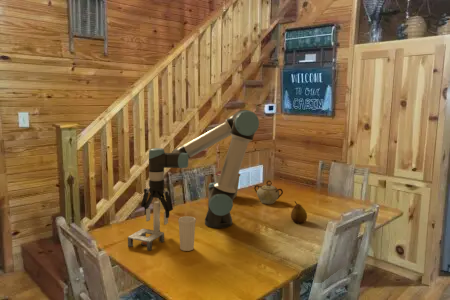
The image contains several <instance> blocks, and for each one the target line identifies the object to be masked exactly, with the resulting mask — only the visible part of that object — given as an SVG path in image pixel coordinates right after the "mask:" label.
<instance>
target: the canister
mask: <svg viewBox="0 0 450 300" xmlns="http://www.w3.org/2000/svg"><path fill="white" fill-rule="evenodd" d="M221 171H222V170H218V171H217V172H214V175H213V176H214V177H215V182H218V180H219V177H220V174H221ZM240 177H241V174H240V173H239V174H238V177H237V180H236V183H235V186H234V189H235V191H236V192H235V196H234V199H235V198H237V196H238V189H239V183H240Z"/></svg>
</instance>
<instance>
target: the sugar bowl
mask: <svg viewBox="0 0 450 300" xmlns="http://www.w3.org/2000/svg"><path fill="white" fill-rule="evenodd" d="M253 188H254V191H255V193H256V195H257V198H258V199H259V201H260V203H261V204H263V205H273V204H274V203H275V202H277V200H279V199H280V197H281V196H282V195H283V194H284V191H283V189H282V188H277V186H274V185H273V182H272V181H271V180H267V181H266V183H265V184H264V185H258V184H256V185H255V186H254V187H253Z"/></svg>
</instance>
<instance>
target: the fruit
mask: <svg viewBox="0 0 450 300" xmlns="http://www.w3.org/2000/svg"><path fill="white" fill-rule="evenodd" d="M294 203H295V205H294V207H292V209H291V212H290V219H291V220H292V221H293V222H294V223H295V224H303V223H305V222H306V221H307V218H308V213H307V211H306V210H305V208H304V207H303V206H302V205H301V204H300V203H297V202H296V201H294Z"/></svg>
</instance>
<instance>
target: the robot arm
mask: <svg viewBox="0 0 450 300" xmlns="http://www.w3.org/2000/svg"><path fill="white" fill-rule="evenodd" d="M259 126H260V121H259V117H258V115H257V114H256V113H255V112H254V111H252V110H248V109H240V110H238V111H237V112H235V113H234V114H232V115H230V116H229V117H227V118H226V119H225V120H224V122H223V123H220V124H219V125H217V126H215V127H214V128H212V129H209V130H208V131H207V132H205V133H203V134H201V135H199V136H197V137H195V138H193V139H192V140H190V141H188V142H186V143H185V144H183V145H181V146H180V147H176V148H175V149H173V150H172V152H165V149H164V148H161V147H154V148H153V147H152V148H150V149H149V150H148V179H149V180H148V187H146V188H144V189H143V197H142V200H141V204H140V206H141V208H144V215H145V222H150V221H151V207H150V205H151V204H152V201H153V199H154V198H155V199H158V200H159V202H160V203H161V205H162V207H163V209H164V211H163V225H167V224H169V218H170V212H171V211H172V210H174V207H173V202H172V199H171V194H170V193H171V191H170V190H165V168H167V169H169V168H170V169H186V168H188V167H189V159H190V158H192V157H194V156H195V155H197V154H199V153H200V152H202V151H204V150H206V149H208V148H210V147H212V146H214V145H215V144H217V143H219V142H221V141H222V140H224V139H227V138H228V137H230V136H231V139H230V143H229V146H228V149H227V153H226V155H225V159H224V161H223V165H222V168H221V170H220V171H221V174H220V177H219V180H218V182H216V181H214V182H209V184H208V188H207V190H208V192H207V193H208V198H207V199H208V200H207V202H208V203H207V212H206V215H205V217H204V225H205V226H207V227H209V228H214V229H223V228H224V229H226V228H228V227H231V226H232V225H233V218H232V214H231V211H232V209H233V206H234V202H233V201H234V200H235V198H234V196H235V192H236V191H235V189H234V186H235V183H236V180H237V177H238V174H240V170H241V167H242V164H243V162H244V158H245V155H246V152H247V149H248V146H249V143H251V142H252V141H254V137H255V134H256V133H257V131H258V129H259V128H260V127H259Z"/></svg>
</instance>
